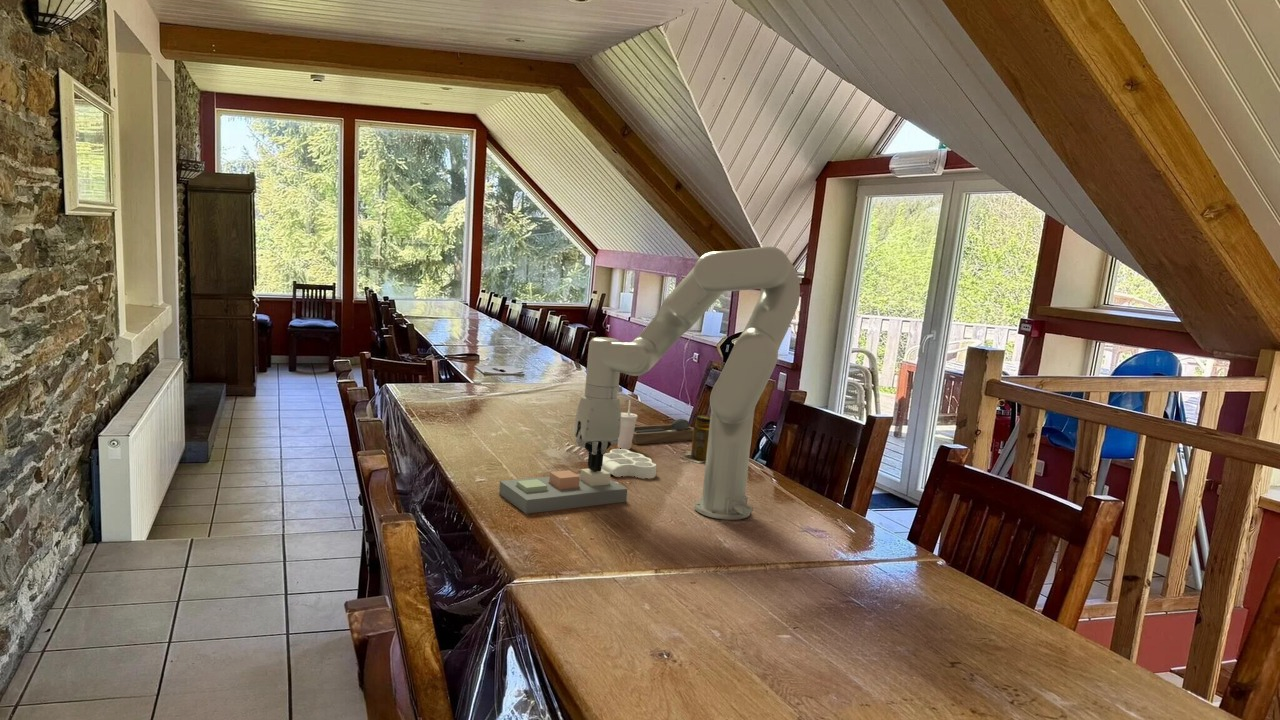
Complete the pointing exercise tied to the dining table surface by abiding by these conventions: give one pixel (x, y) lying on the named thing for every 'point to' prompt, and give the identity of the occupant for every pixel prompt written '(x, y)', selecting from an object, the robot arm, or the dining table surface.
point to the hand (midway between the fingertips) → (594, 469)
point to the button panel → (561, 495)
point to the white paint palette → (628, 464)
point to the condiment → (699, 439)
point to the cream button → (595, 477)
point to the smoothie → (627, 429)
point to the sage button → (531, 486)
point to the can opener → (676, 425)
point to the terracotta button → (564, 479)
